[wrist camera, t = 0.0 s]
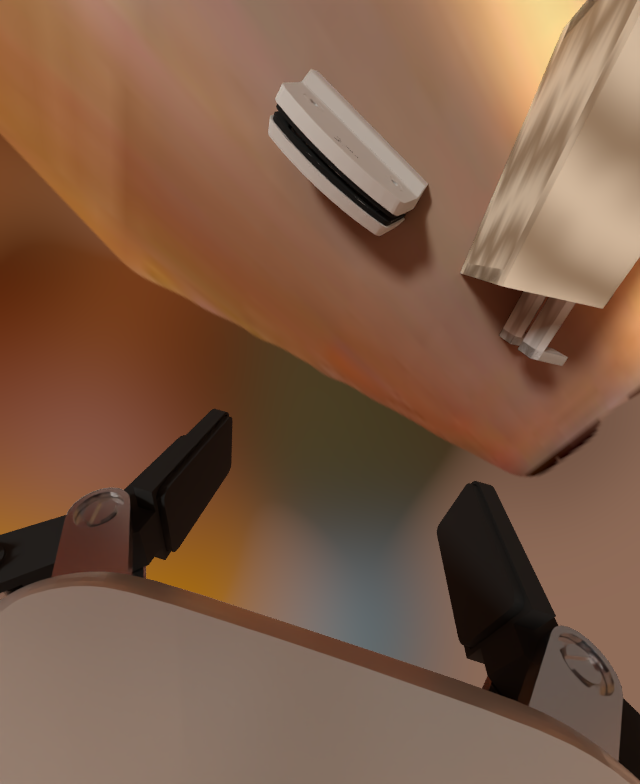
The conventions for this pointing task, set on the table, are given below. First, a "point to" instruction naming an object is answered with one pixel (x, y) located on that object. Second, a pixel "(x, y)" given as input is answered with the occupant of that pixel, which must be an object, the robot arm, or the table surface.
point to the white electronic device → (343, 154)
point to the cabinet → (570, 182)
